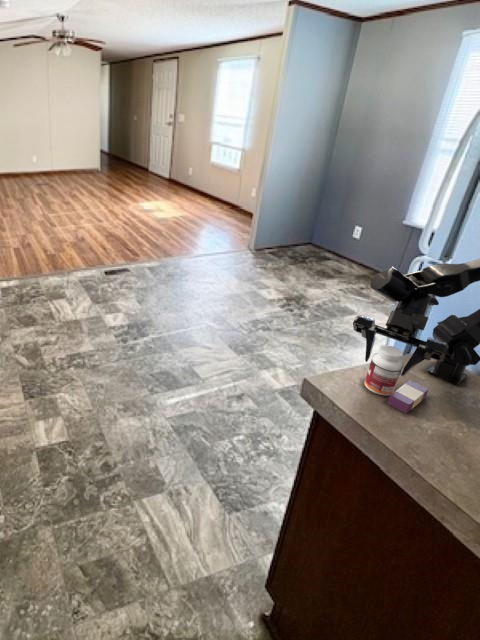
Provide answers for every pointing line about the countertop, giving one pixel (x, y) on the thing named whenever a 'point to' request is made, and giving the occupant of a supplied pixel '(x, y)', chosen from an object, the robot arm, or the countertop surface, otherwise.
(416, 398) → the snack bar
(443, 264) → the robot arm
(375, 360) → the pill bottle
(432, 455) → the countertop surface
